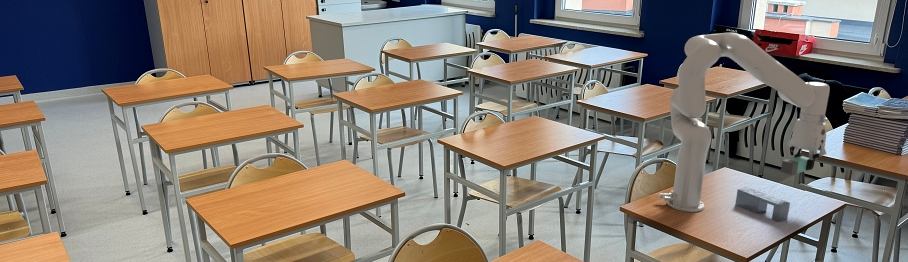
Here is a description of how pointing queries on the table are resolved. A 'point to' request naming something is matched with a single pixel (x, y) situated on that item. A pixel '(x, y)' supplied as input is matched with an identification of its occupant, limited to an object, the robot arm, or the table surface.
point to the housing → (762, 203)
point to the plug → (794, 165)
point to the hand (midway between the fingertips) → (802, 167)
